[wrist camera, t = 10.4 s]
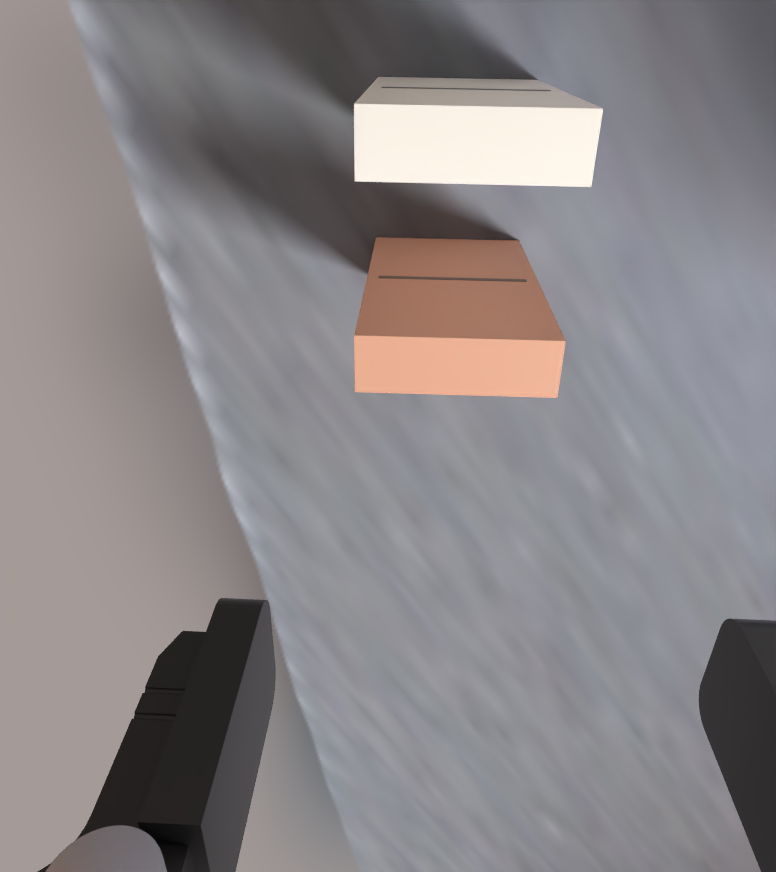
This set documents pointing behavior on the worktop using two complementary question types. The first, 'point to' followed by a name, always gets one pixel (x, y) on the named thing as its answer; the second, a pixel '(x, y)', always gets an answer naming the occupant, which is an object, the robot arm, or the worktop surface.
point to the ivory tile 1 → (474, 133)
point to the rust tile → (455, 321)
